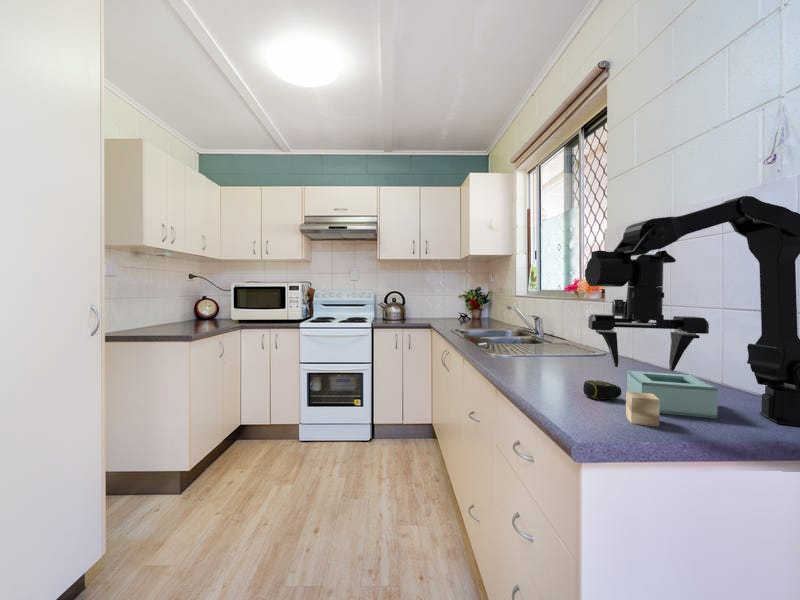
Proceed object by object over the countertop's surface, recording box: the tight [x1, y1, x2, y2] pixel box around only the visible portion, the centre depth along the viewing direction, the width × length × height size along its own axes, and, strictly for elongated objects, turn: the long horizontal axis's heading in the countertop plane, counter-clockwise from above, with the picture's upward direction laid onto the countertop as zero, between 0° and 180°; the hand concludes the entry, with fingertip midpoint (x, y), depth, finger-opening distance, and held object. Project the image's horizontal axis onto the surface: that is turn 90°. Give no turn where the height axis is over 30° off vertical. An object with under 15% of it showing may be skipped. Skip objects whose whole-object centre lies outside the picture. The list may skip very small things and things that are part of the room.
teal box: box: [626, 370, 719, 419], centre depth 84 cm, size 13×13×6 cm
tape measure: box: [582, 379, 622, 401], centre depth 90 cm, size 7×7×4 cm
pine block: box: [625, 391, 660, 427], centre depth 74 cm, size 4×4×5 cm
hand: (643, 368), depth 74 cm, fingers open, 9 cm apart
